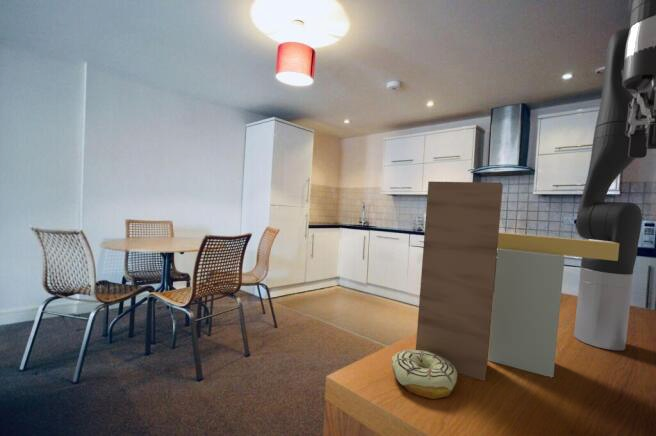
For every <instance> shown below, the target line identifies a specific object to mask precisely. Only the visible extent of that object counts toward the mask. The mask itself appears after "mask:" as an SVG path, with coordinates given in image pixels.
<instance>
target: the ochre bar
mask: <svg viewBox="0 0 656 436" xmlns="http://www.w3.org/2000/svg"><path fill="white" fill-rule="evenodd" d="M498 248H503V249H512V250H521V251H530V252H539V253H549V254H558V255H563V256H567V257H576V258H577V257H579V258H582V257H586V258H595V259H604V260H613V261H618V253H619V243H615V242H610V241H601V240H592V239H582V238H581V239H579V238H570V237H569V238H567V237H556V236H555V237H554V236H546V235H545V236H544V235H543V236H542V235H532V234H521V233H509V232H501V231H499V235H498V247H497V249H498Z"/></svg>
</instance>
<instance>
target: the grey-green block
mask: <svg viewBox="0 0 656 436" xmlns="http://www.w3.org/2000/svg"><path fill="white" fill-rule="evenodd" d="M565 258H566V255H558V254H549V253H539V252H530V251H521V250H512V249H503V248H497V259H496V270H495V282H494V294H493V305H492V317H491V329H490V340H489V352H488V361H489V362H493V363H496V364H500V365H504V366H508V367H512V368H515V369H519V370H523V371H527V372H530V373H532V374H533V373H534V374H537V375H541V376H545V377H548V376H549V377H548V378H552V377H553V378H554V374H555V363H556V354H557V344H558V343H557V342H558V333H559V322H560V311H561V310H560V308H561V300H562V290H563V289H562V288H563V281H564V280H563V279H564V268H565Z"/></svg>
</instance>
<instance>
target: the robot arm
mask: <svg viewBox="0 0 656 436" xmlns="http://www.w3.org/2000/svg"><path fill="white" fill-rule="evenodd" d="M628 14H629V15H630V23H629V27H625V28H622V29H618V30H616V31H613V33H612V34H611V37H610V38H609V41H608V45H607V49H606V53H605V61H604V62H605V63H604V72H603V84H602V91H601V98H600V104H599V110H598V113H597V118H596V123H595V127H594V134H593V139H592V146H591V147H592V148H591V154H590V160H589V167H588V172H587V176H586V180H585V184H584V189H583V190H582V192H583V193H582V195H581V199H580V202H579V206H578V209H577V214H576V221H575V222H576V225H575V226H576V231H577V234H578V235H579V236H580V238H581V239H582V238H583V239H584V240H593V241H604V242H615V243H619V253H618V261H613V260H604V259H595V258H586V257H581V261H580V262H581V263H580V271H579V272H580V273H579V280H578V281H579V282H578V293H577V302H576V303H577V304H576V312H575V323H574V330H573V332H574V333H573V336H574V338H575V339H577V340H578V341H580V342H582V343H584V344H587V345H590V346H593V347H596V348H600V349H605V350H608V351H609V350H610V351H624V350H625V349H626V342H627V335H628V327H629V325H628V324H629V317H630V307H631V299H632V298H631V295H632V286H633V278H634V276H633V275H634V268H635V265H636V261H637V255H638V247H639V242H640V237H641V232H642V225H643V213H642V210H641V208H640V206H639V205H638V204H636V203H634V202H627V201H625V202H624V201H606V198H607V195H608V192H609V189H610V188H611V186H612V185H613V183H614V181H615V180H616V179H617V178H618V177H619V175H621V173H622V172H623V171H624V170H625V169H627V167H629V165H630V164H632V163H633V162H634V161H635V160H636V159H643V158H645V157H646V156H647V153H648V152H647V151H648V150H656V0H629V1H628ZM622 71H623V72H622ZM630 90H634V91H636V96H635V97H634V95H633V94H632V93H631V92H630Z"/></svg>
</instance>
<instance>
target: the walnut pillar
mask: <svg viewBox="0 0 656 436" xmlns="http://www.w3.org/2000/svg"><path fill="white" fill-rule="evenodd" d="M427 185H428V186H427V196H426V206H425V207H426V211H425V221H424V235H423V249H422V251H423V252H422V263H421V275H420V287H419V299H418V300H419V301H418V312H417V313H418V315H417V330H416V339H415V340H416V342H415V350H419V351H420V350H421V351H428V352H431V353H434V354H437V355H439V356H441V357H443V358H445V359H446V360H448V361H449V362H450V363H451V364H452V365H453V366H454V367H455V369H456V371H457V374H460V375H464V376H466V377H469V378H472V379H476V380H480V381H482V382H483V381H484V382H485V381H486V376H487V368H488V355H489V343H490V332H491V320H492V308H493V297H494V285H495V274H496V262H497V250H498V248H497V247H498V235H499V232H500V221H501V213H502V211H501V209H502V200H503V188H504V187H503V182H483V181H481V182H479V181H478V182H477V181H472V182H471V181H431V180H430V181H428V183H427Z"/></svg>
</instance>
